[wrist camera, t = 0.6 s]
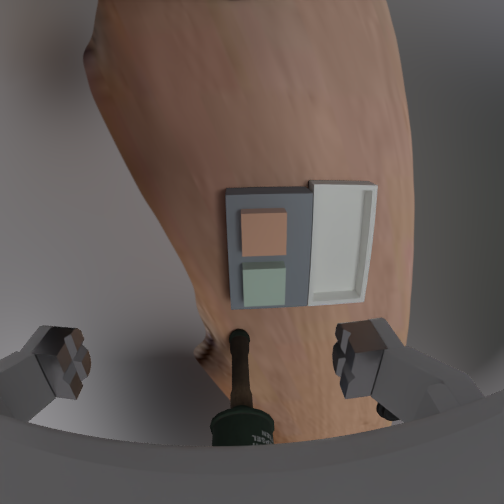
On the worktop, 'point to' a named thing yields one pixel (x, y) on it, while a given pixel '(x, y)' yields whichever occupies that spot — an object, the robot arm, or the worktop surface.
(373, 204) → the box
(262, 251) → the tile
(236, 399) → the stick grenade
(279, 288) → the tile
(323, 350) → the worktop surface
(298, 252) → the dark grey slab
